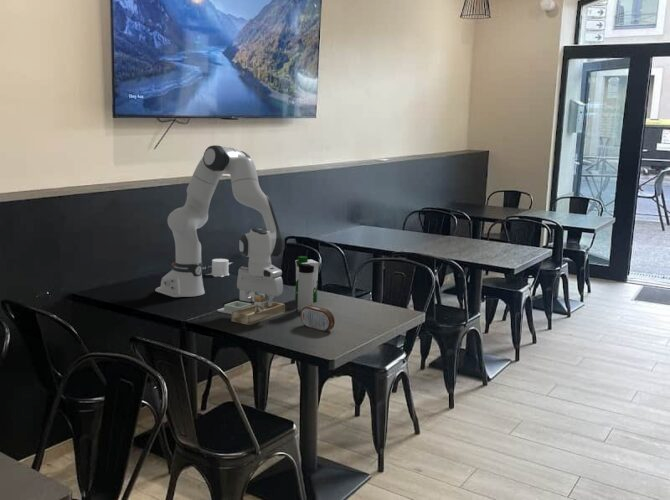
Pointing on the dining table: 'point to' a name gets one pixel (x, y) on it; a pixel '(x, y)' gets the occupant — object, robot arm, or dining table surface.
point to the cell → (259, 302)
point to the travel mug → (305, 286)
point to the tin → (317, 318)
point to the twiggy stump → (220, 267)
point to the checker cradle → (234, 307)
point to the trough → (250, 318)
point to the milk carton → (313, 263)
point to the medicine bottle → (243, 296)
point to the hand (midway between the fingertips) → (259, 303)
